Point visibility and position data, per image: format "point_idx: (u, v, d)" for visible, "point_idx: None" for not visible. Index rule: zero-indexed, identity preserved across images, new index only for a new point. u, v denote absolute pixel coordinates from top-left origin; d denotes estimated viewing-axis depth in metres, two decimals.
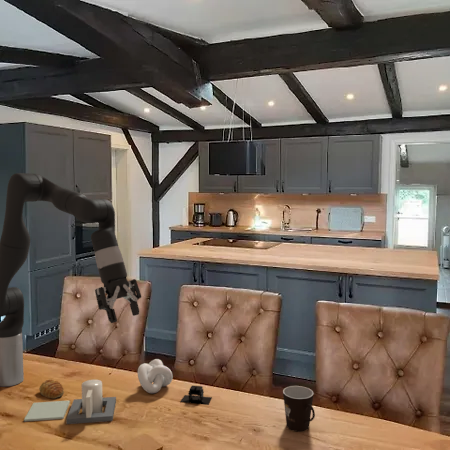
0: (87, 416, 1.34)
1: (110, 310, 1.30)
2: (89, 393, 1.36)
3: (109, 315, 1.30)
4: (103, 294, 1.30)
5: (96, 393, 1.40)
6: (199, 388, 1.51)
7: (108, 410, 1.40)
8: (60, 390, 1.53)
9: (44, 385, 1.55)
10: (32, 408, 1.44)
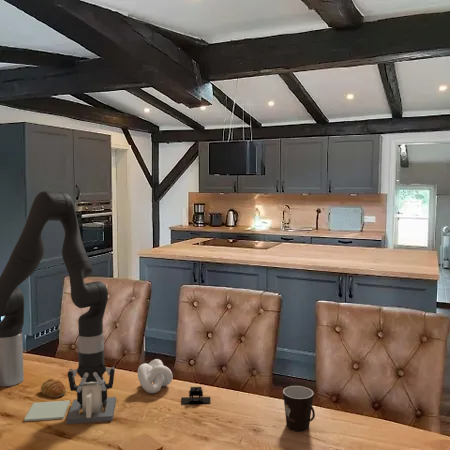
0: (87, 416, 1.34)
1: (78, 393, 1.41)
2: (89, 393, 1.36)
3: (77, 396, 1.41)
4: (70, 378, 1.40)
5: (96, 393, 1.40)
6: (199, 388, 1.50)
7: (108, 410, 1.40)
8: (62, 389, 1.54)
9: (46, 384, 1.56)
10: (32, 408, 1.44)
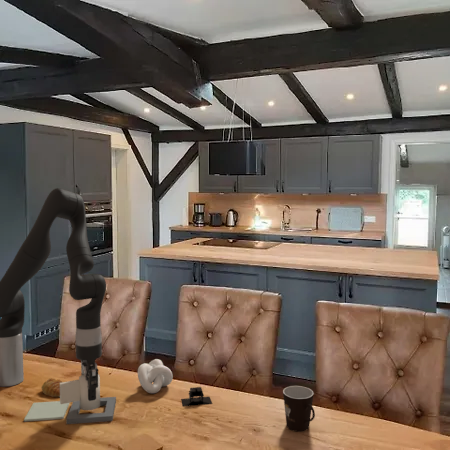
0: (60, 401, 1.38)
1: None
2: (69, 382, 1.38)
3: None
4: (81, 363, 1.46)
5: (82, 387, 1.39)
6: (199, 389, 1.50)
7: (108, 410, 1.40)
8: None
9: (46, 384, 1.56)
10: (32, 408, 1.44)
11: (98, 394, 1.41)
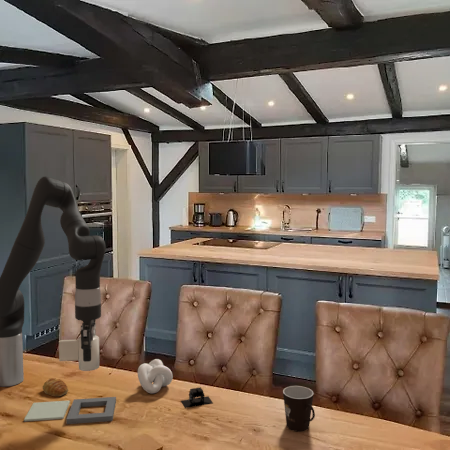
0: None
1: None
2: (68, 340, 1.40)
3: None
4: None
5: (79, 347, 1.39)
6: (200, 389, 1.49)
7: (108, 410, 1.40)
8: (65, 388, 1.55)
9: (48, 384, 1.57)
10: (32, 408, 1.44)
11: (95, 356, 1.40)
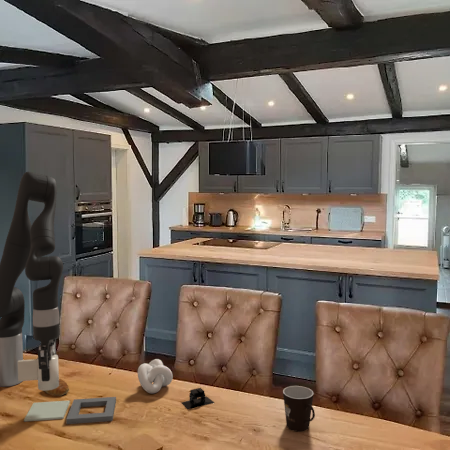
0: None
1: None
2: (27, 360, 1.41)
3: None
4: None
5: (38, 366, 1.40)
6: (200, 389, 1.49)
7: (108, 410, 1.40)
8: (66, 387, 1.56)
9: None
10: (32, 408, 1.44)
11: (54, 376, 1.41)
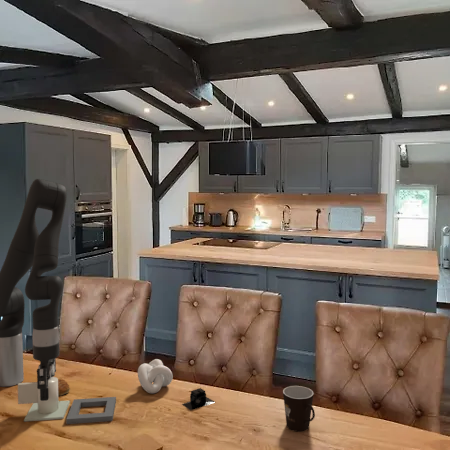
0: None
1: None
2: (27, 383, 1.42)
3: None
4: None
5: (37, 390, 1.41)
6: (201, 390, 1.49)
7: (108, 410, 1.40)
8: (66, 387, 1.56)
9: None
10: (32, 408, 1.44)
11: (54, 399, 1.41)
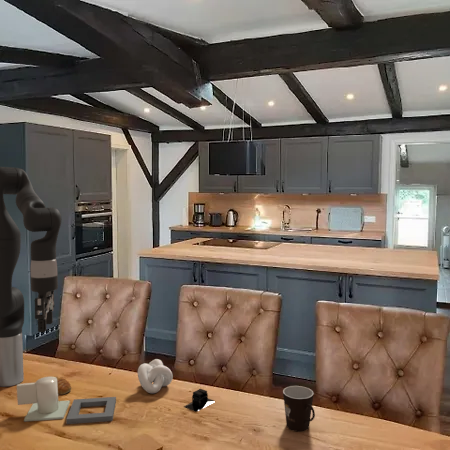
0: None
1: None
2: (26, 384, 1.41)
3: None
4: None
5: (37, 390, 1.41)
6: (202, 390, 1.49)
7: (108, 410, 1.40)
8: (68, 386, 1.57)
9: None
10: (32, 408, 1.44)
11: (53, 399, 1.41)
